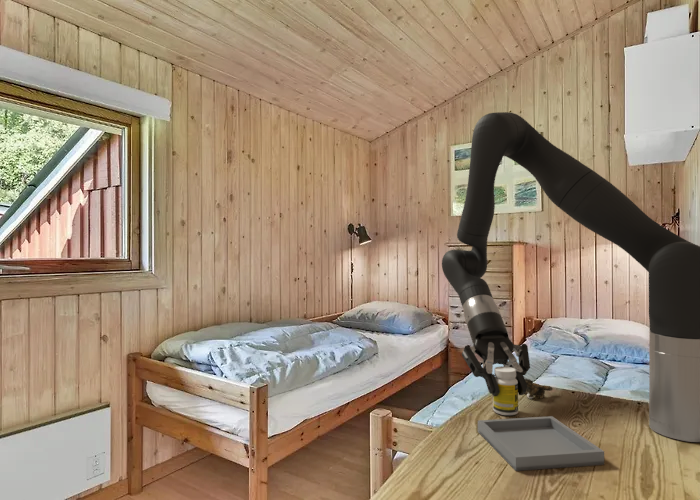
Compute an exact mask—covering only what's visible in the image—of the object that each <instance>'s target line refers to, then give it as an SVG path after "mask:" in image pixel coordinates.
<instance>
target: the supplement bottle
mask: <svg viewBox="0 0 700 500" xmlns="http://www.w3.org/2000/svg"><path fill="white" fill-rule="evenodd" d="M493 374H494V375H495V378H496V381H497V384H498V387H499V390H500V393H499V394H498V396H493V395H492V410H493V412H494V413H496V414H498V415H500V416H501V415H502V416H514V415H515V416H516V415H518V413H519V393H518V381H517V379H515V378H516V369H514V368H511V367H505V366H503V365H502V366H495V367H494V373H493Z"/></svg>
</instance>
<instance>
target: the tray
mask: <svg viewBox="0 0 700 500" xmlns="http://www.w3.org/2000/svg"><path fill="white" fill-rule="evenodd" d="M477 432H478V434H479V435H480V436H481V437H482V438H483V439H484V440H485V442H487V444H489V445H490V446H491V448H493V449H494V450H495V452H497V453H498V454H499V455H500V457H501V458H502V459H504V460H505V462H507V464H508V465H510V467H511V468H512V469H513V470H514V471H515V472H520V471H521V472H522V471H533V470H548V469H550V470H551V469H563V468H576V467H590V466H602V465H603V466H604V465H605V451H604V450H603V449H602V448H600V447H599V446H597V445H596V444H594V443H593V442H591V441H589V440H588V439H587V438H585V437H584V436H582V435H581V434H579V433H578V432H576V431H574V430H573V429H572V428H570V427H568V426H567V425H566V424H564V423H563V422H561V421H560V420H558V419H557V418H555V417H554V416H553V415H549V416H536V417H535V416H533V417H532V416H530V417H517V418H516V417H514V418H513V417H512V418H499V419H498V418H497V419H479V420H477Z"/></svg>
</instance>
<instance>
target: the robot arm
mask: <svg viewBox="0 0 700 500" xmlns="http://www.w3.org/2000/svg"><path fill="white" fill-rule="evenodd" d="M504 157H506V158H508V159H510V160H512V161H513V162H514V163H516V164H518V165H519V166H521V167H523V169H525V170H526V171H527V172H528V173H530V174H531V175H532V176H533V177H534V178H535V180H536V181H537V183H538V184H539V186H540V187H541V189H542V190H543V193H544V194H545V196H547V198H548V199H549V200H550V201H551V202H552V203H553V204H554V205H555V206H556V207H558V209H560V210H561V211H563V212H564V213H565V214H566V215H568V216H569V217H570V218H571V219H573V220H574V221H575V222H577V223H579V224H580V225H582V226H583V227H585V228H586V229H588V230H590V231H591V232H593V233H595V234H596V235H598V236H600V237H601V238H604V239H606V240H607V241H609V242H611V243H613V244H615V245H616V246H618V247H619V248H621V249H622V250H623V251H624V252H626V253H627V254H628V255H629V256H631V257H632V258H633V259H634V260H635V261H636V262H637V263H638V264H640V266H642V267H643V268H644V269H645V270H646V271H647V272H648V319H649V320H648V321H649V338H648V339H649V346H648V347H649V359H648V360H649V365H648V367H649V369H648V371H649V375H648V377H649V387H648V388H649V389H648V391H649V392H648V393H649V394H648V395H649V397H648V399H649V400H648V402H649V404H648V405H649V406H648V418H649V419H648V421H649V422H648V423H649V425H648V426H649V428H650V429H651V430H652V431H654V432H656V433H657V434H660V435H662V436H663V437H667V438H671V439H675V440H678V441H683V442H689V443H690V442H691V443H700V245H698V244H695V243H693V242H691V241H688V239H685V238H683V237H681V236H680V235H678V234H676V233H674V232H673V231H671V230H670V229H667V228H666V227H665V226H663V225H661V224H660V223H658V222H657V221H656V220H654V219H652V218H651V217H649V216H648V215H647V214H646V213H645V212H644V211H643V210H642V209H641V208H640V207H639V206H638V205H637V204H635V203H634V201H633V200H631V199H630V198H629V197H628V196H627V195H626V194H625V193H623V192H622V191H621V190H620V189H619V188H617V187H616V186H615V185H614V184H612V183H611V182H610V181H608V180H607V179H606V178H604V177H603V176H601V174H599V173H597V172H596V171H594V169H591V168H590V167H589V166H587V165H585V163H583V162H581V161H579V160H578V159H576V158H575V157H573V156H572V155H571V154H569V153H567V152H566V151H564V150H562V149H560V148H559V147H557V146H556V145H554V144H553V143H552V142H550V141H549V140H548V139H546V137H544V135H542V134H541V133H540V132H539V131H538V130H536V128H534V127H533V126H532V125H531V124H530V123H529V122H528V121H527V120H526V119H524V118H523V117H522V116H521V115H519V114H517V113H514V112H510V111H509V112H507V111H506V112H505V111H504V112H502V111H501V112H500V111H499V112H490V113H487V114H485V115H483V116H481V117H480V118H479V119H478V121H477V122H476V124H475V125H474V128H473V132H472V138H471V147H470V161H469V168H468V169H469V171H468V177H467V179H468V180H467V188H466V195H465V201H464V203H463V204H464V205H463V208H462V211H461V216H460V220H459V225H458V228H457V233H456V236H457V238H456V239H458V241H459V242H461V243H462V244H465V245H467V246H469V247H471V250H463V249H449V250H448V251H447V252H445V253H444V255H443V256H442V259H441V267H442V268H441V269H442V272H443V275H444V276H445V278H446V280H447V281H448V282H449V285H451V287H452V289H453V290H454V291H455V292H456V294H457V295H458V297H459V301H460V304H461V307H462V310H463V317H464V321H465V324H466V326H467V329H468V333H469V336H470V338H471V341H472V344H473V345H471V346H469V345H465V346H464V347H463V350H462V352H461V356H462V358H463V359H464V361H465V362H466V364H467V366H468V368H469V369H470V371H471V373H472V375H473V376H474V377H475V378H479V377H480V378H483V379H484V381H485V384H486V387H487V390H488V392H489V394H492V397H493V396H498V394H499V393H500V390H499V387H498V384H497V381H496V378H495V377H496V376H495V374H494V373H493V372H494V371H493V369H494V368H493V367H494V365H497V364H498V365H502V366H505V367H511V368H514V369H516V378H515V379H517V381H518V396H525V395H524V394H525V392H526V390H527V384H526V381H525V375H526V374H527V373H528V371H529V370H530V369H531V364H530V355H529V347H528V345H527V344H526V343H522V344H521V345H518V344H514V342H513V341H512V340H511V339H510V337H509V332H508V329H507V328H506V324H505V322H504V320H503V317H502V314H501V312H500V309H499V307H498V305H497V303H496V301H495V299H494V297H493V295H492V292H491V289H490V287H489V285H488V283H487V281H486V280H485V279H483V278H482V277H483V276H485V273H486V272H487V269H488V254H487V253H488V238H489V234H490V230H491V227H492V223H493V219H494V215H495V207H496V206H495V205H496V204H495V203H496V201H495V182H496V181H495V180H496V176H497V172H498V170H499V168H500V164H501V162H502V159H503V158H504ZM513 352H515V354H514V353H513ZM476 355H477V356H478V357H479V358H480V359H482V364H481V363H480V361H479V360H478V358H477V357H476ZM517 358H518V360H517Z"/></svg>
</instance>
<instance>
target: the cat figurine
mask: <svg viewBox="0 0 700 500" xmlns="http://www.w3.org/2000/svg"><path fill="white" fill-rule="evenodd" d="M524 379H525V381H526V384H527V390H526V392H525V394H524V395H523V396H526V397H527V398H528V399H530V400H531V399H533V398H534V397H538V398H539V399H544V398H545V392H546V391H553V387H552V386H550V385H541V384H539V383H536V382H534V381H533V380H531V379H529V378H525V377H524Z"/></svg>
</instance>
